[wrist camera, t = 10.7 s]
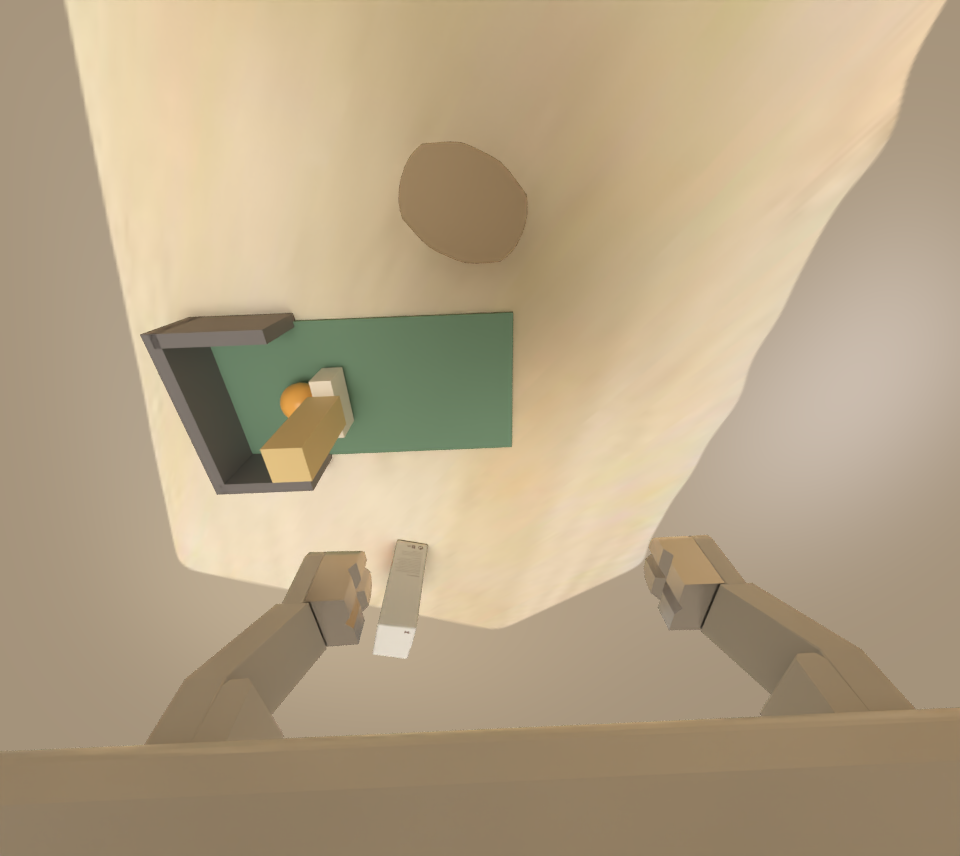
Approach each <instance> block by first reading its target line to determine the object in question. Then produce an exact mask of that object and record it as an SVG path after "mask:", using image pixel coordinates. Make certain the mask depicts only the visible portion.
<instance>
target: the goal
mask: <svg viewBox="0 0 960 856" xmlns="http://www.w3.org/2000/svg"><path fill="white" fill-rule="evenodd" d="M293 321H295V320H294V316H293V313H285V314H260V315H235V316H210V317H188V318H185V319H183V320H180V321H177V322H174V323H171V324H169V325H166V326H163V327H160V328H157V329H155V330H152V331H149V332H146V333H143V334H141V335H140V336H141V338H142V340H143V342H144V344H145V346H146V348H147V350H148V352H149V354H150V356H151V358H152V360H153V363H154V365H155V367H156V369H157V371H158V373H159V375H160V377H161V379H162V381H163V383H164V385H165V387H166V390H167V392H168V394H169V396H170V398H171V400H172V402H173V404H174V406H175V408H176V410H177V412H178V415H179V417H180V419H181V421H182V423H183V425H184V427H185V429H186V431H187V433H188V435H189V437H190V439H191V442H192V444H193V446H194V448H195V450H196V452H197V454H198V456H199V458H200V460H201V462H202V464H203V466H204V469H205V471H206V473H207V475H208V477H209V479H210V481H211V483H212V485H213V487H214V489H215V491H216V494H217V495H218V494H242V493H266V492H290V491H313V490H314V488H315V487H316V485H317V483H318V481H319V480H320V478H321V476H322V474H323V473H324V471H325V469H326V467H327V466H328V464H329V462H330V460H331V459H332V455H331V454H328V456H327V457H326V459H325V461H324V462H323V464H322V466H321V467H320V469H319V471H318V472H317V474H316V476H315V477H314V479H313V481H304V482H280V483H273V482H272V480H271V477H270V475H269V472H268V469H267V467H266V464H265V461H264V459H263V456H262V454H252V451H251V449H250V446H249V444H248V441H247V438H246V436H245V433H244V431H243V428H242V426H241V423H240V421H239V418H238V416H237V413H236V411H235V408H234V406H233V403H232V401H231V398H230V395H229V393H228V390H227V388H226V385H225V383H224V380H223V378H222V375H221V373H220V370H219V368H218V365H217V363H216V360H215V357H214V355H213V352H212V350H211V347H215V346H240V345H265V344H268V343H270V342H271V341H273V340H275V339H276V338H278V337H279V336H281V335H283V334H284V333H286V332H287V331H289V330H291V329H292V328H294V323H293Z"/></svg>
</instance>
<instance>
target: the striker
mask: <svg viewBox="0 0 960 856" xmlns="http://www.w3.org/2000/svg"><path fill="white" fill-rule="evenodd" d="M309 386H310V389H311V393H312V397H307V398H306V399H305V400H304V401H303V402H302V403H301V405H300V406H299V407H298V408H297V409H296V410H295V411H294V412H293V413H292V415H291V416H290V417H289V418H288V419H287V420H286V421H285V422H284V423H283V424H282V426H281V427H280V428H279V429H278V430H277V431H276V432H275V433H274V434H273V436H272V437H271V438H270V439H269V440H268V441H267V442H266V443H265V444H264V446H263V447H262V448H261V449H260V451H261V454H262V456H263V459H264V461H265V464H266V467H267V469H268V472H269V475H270V477H271V480H272V482H273V483H280V482H304V481H313V479H314V477H315V476H316V474H317V472H318V471H319V469H320V467H321V466H322V464H323V462H324V461H325V459H326V457H327V456H328V454H329V452H330V451H331V449H332V447H333V446H334V444H335V442H336V441H337V439H338V438H344V437H345V436H346V434H347V432H348V430H349V429H350V427H351V425H352V423H353V422H354V418H353V413H352V409H351V404H350V400H349V395H348V391H347V386H346V382H345V378H344V373H343V369H342V367H334V368H321V370H320V371H319V372H318V373H317V374H316V375H315V376H314V377H313V378H312V379H311V380H310V381H309Z"/></svg>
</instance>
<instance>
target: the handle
mask: <svg viewBox="0 0 960 856" xmlns="http://www.w3.org/2000/svg"><path fill="white" fill-rule="evenodd" d="M399 207H400V212H401V216H402V219H403V220H404V221H405V222H406V223H407V224H408V226H409V227H410V228H411V229H412V230H413V231H414V232H415V234H416V235H417V236H418V237H419V238H420V239H421V240H422V241H423V242H424V243H425V244H426V245H428V246H429V247H430V248H432V249H433V250H435V251H437V252H439V253H441V254H444V255H446V256H448V257H450V258H453V259H455V260H458V261H461V262H464V263H490V262H500V261H502V260H503V259H504V258H506V257H507V256H508V255H509V254H510V253H511V252H512V251H513V249H514V248H515V246H516V245H517V243H518V241H519V239H520V237H521V235H522V233H523V230H524V227H525V224H526V218H527V196H526V194H525V192H524V191H523V189H522V188H521V186H520V185H519V184H518V182H517V181H516V179H515V178H514V177H513V175H512V174H511V173H510V171H509V170H508V169H507V168H506V167H505V166H504V165H503V164H502V163H501V162H500V161H498V160H497V159H495V158H494V157H492V156H490V155H488V154H486V153H484V152H482V151H480V150H478V149H476V148H474V147H472V146H470V145H467V144H464V143H461V142H437V143H426V144H421V145H420V146H419V147H418V148H417V149H416V150H415V151H414V152H413V153H412V154H411V156H410V157H409V159H408V161H407V163H406V165H405V167H404V170H403V173H402V176H401V181H400V186H399Z"/></svg>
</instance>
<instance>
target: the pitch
mask: <svg viewBox="0 0 960 856" xmlns="http://www.w3.org/2000/svg"><path fill="white" fill-rule="evenodd" d="M293 323H294V328H292V329H291V330H289V331H287V332H286V333H284V334H283V335H281V336H279V337H278V338H276V339H275V340H273V341H271V342H270V343H268V344H265V345H240V346H215V347H211V350H212V352H213V355H214V357H215V360H216V363H217V365H218V368H219V370H220V373H221V375H222V378H223V380H224V383H225V385H226V388H227V390H228V393H229V395H230V398H231V401H232V403H233V406H234V408H235V411H236V413H237V416H238V418H239V421H240V423H241V426H242V428H243V431H244V433H245V436H246V438H247V441H248V444H249V446H250V449H251V451H252V454H261V451H260V449H261V448H262V447H263V446H264V444H265V443H266V442H267V441H268V440H269V439H270V438H271V437H272V436H273V434H274V433H275V432H276V431H277V430H278V429H279V428H280V427H281V426H282V424H283V423H284V422H285V421H286V420H287V419H288V417H287V416H285V414H284V413H283V411H282V410H281V407H280V397H281V395H282V393H283V391H284V390H285V389H286V388H287V387H288V386H290V385H292V384H295V383H308V384H309V381H310V380H311V379H312V378H313V377H314V376H315V375H316V374H317V373H318V372H319V371H320V370H321V368H334V367H342V369H343V373H344V378H345V382H346V386H347V391H348V395H349V400H350V404H351V409H352V413H353V418H354V422H353V423H352V425H351V427H350V429H349V430H348V432H347V434H346V436H345V437H344V438H338V439H337V441H336V442H335V444H334V446H333V447H332V449H331V451H330V452H329V454H354V453H378V452H402V451H426V450H450V449H475V448H499V447H512V363H513V312H500V313H475V314H450V315H425V316H399V317H374V318H349V319H324V320H299V321H293Z"/></svg>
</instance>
